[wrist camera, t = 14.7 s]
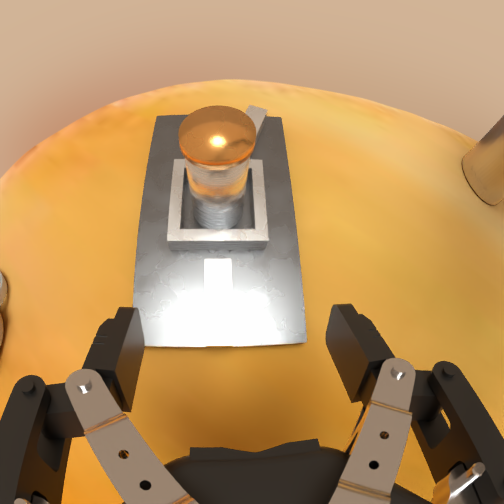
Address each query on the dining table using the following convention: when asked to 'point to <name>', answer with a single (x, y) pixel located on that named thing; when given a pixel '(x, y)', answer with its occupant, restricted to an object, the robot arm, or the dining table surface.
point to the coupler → (217, 163)
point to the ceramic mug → (0, 295)
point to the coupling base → (219, 252)
